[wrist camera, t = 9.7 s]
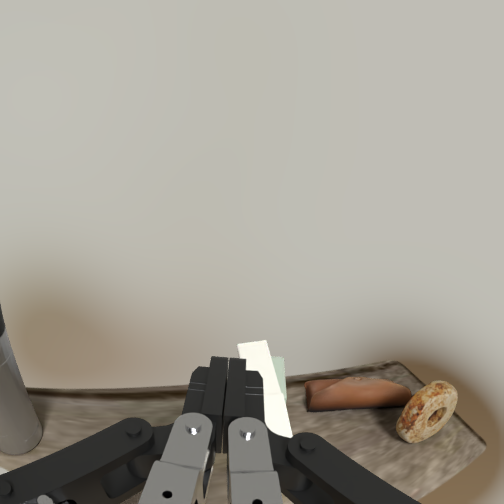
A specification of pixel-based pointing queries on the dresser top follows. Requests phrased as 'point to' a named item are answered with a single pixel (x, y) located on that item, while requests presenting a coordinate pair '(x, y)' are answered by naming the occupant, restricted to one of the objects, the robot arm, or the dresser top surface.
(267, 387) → the domino
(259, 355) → the domino
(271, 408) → the domino
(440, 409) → the stone disc
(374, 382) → the sunglasses case
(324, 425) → the dresser top surface
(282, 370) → the domino
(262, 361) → the domino
